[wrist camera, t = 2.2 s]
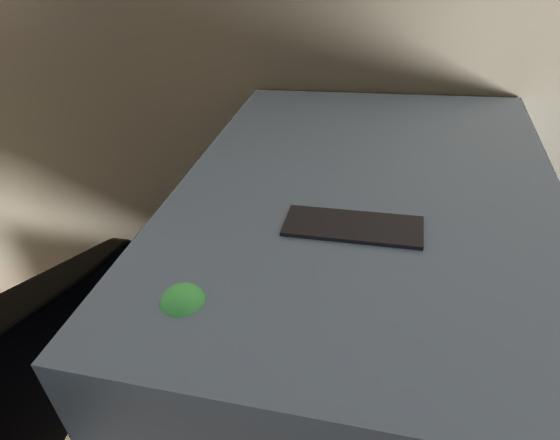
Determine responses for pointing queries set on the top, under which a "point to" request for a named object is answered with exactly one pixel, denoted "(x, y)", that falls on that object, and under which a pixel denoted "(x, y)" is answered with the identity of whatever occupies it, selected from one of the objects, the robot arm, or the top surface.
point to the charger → (332, 283)
